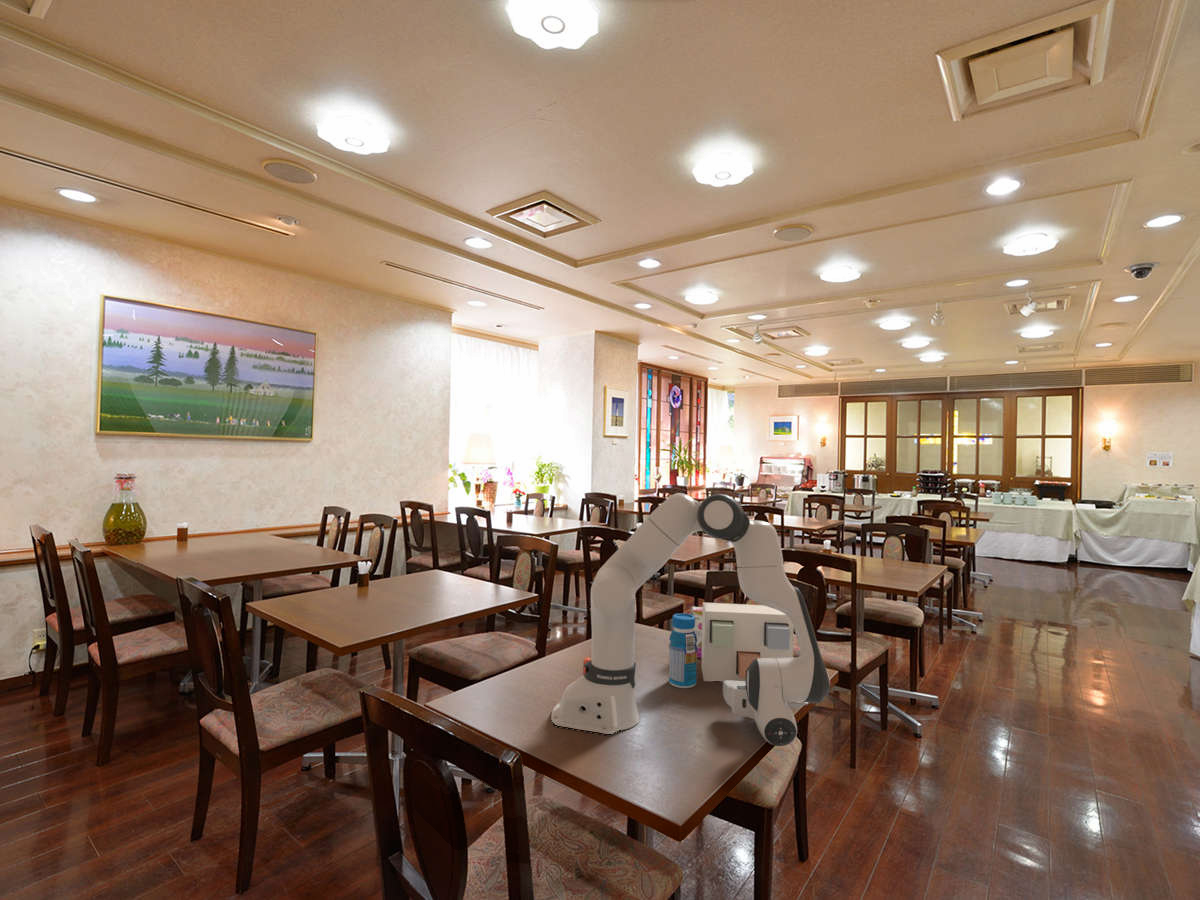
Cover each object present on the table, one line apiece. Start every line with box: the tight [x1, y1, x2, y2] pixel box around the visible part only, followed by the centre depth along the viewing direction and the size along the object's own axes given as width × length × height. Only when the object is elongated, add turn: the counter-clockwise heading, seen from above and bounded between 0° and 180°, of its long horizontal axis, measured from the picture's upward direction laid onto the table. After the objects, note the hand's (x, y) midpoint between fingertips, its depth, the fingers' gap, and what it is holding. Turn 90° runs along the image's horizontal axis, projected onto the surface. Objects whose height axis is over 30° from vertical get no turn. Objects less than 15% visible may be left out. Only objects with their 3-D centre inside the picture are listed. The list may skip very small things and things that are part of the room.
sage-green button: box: [711, 620, 734, 647], centre depth 174 cm, size 6×6×6 cm
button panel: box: [700, 602, 795, 683], centre depth 180 cm, size 26×10×21 cm, turn 84°
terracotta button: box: [736, 651, 760, 678], centre depth 173 cm, size 6×6×6 cm
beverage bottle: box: [668, 613, 698, 689], centre depth 173 cm, size 8×8×20 cm
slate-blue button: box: [765, 622, 790, 650], centre depth 173 cm, size 6×6×6 cm
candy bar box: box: [690, 606, 703, 660], centre depth 196 cm, size 11×5×16 cm, turn 84°
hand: (758, 681), depth 158 cm, fingers closed
